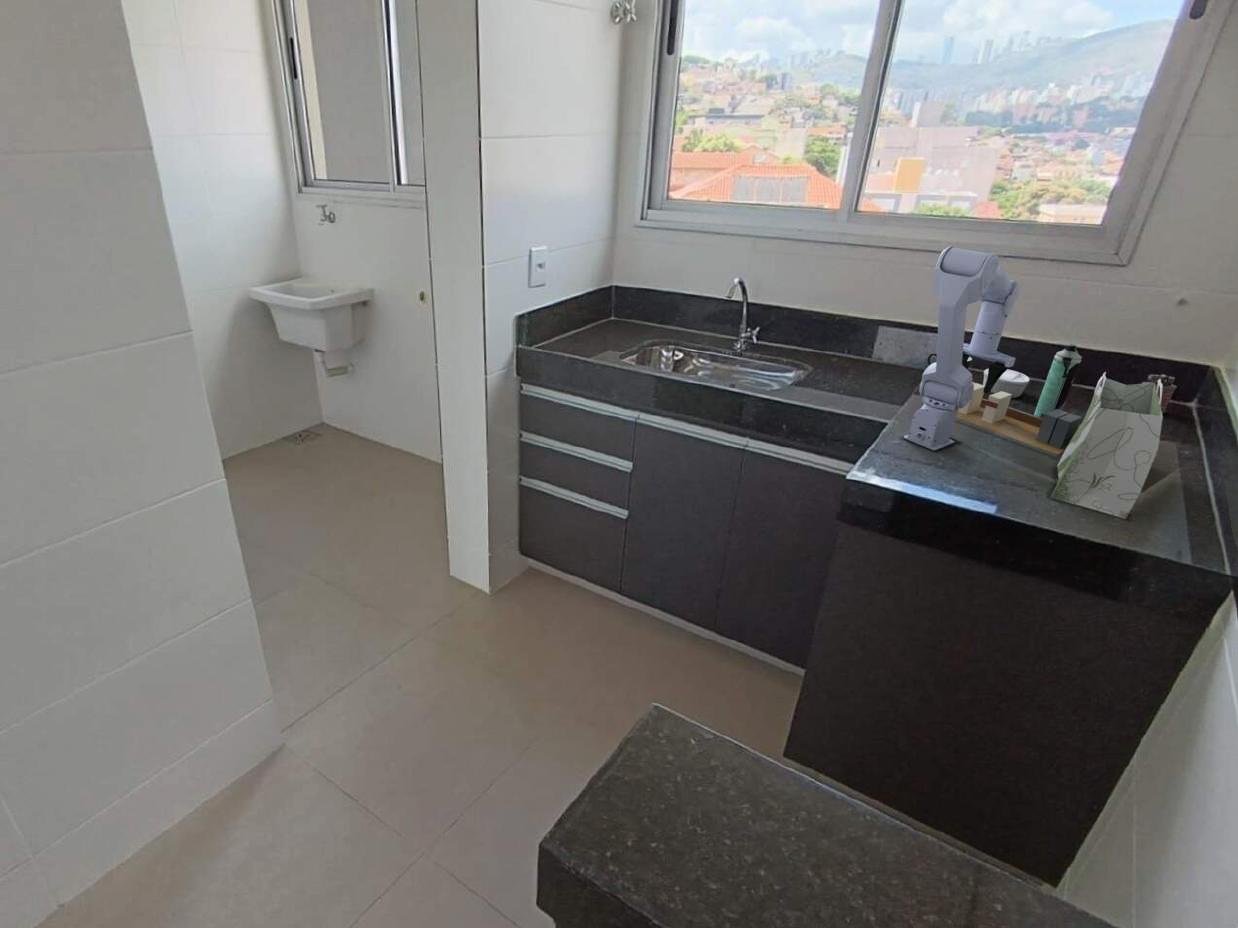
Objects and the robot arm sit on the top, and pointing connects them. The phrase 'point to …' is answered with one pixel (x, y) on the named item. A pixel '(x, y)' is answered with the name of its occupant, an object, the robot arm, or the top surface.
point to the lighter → (1163, 389)
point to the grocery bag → (1112, 448)
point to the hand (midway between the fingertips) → (971, 387)
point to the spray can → (1059, 381)
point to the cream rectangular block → (974, 400)
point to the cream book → (996, 407)
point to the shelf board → (1013, 426)
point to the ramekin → (1009, 383)
